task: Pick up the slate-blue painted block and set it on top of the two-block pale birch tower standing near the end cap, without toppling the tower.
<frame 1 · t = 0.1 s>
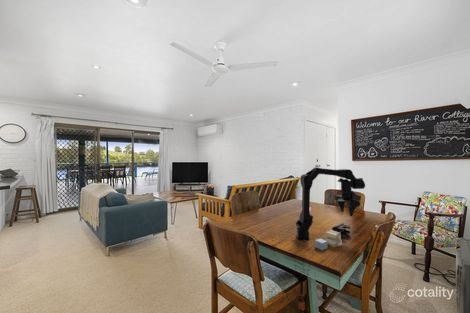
hand: (346, 214, 125), 15 cm above the table, fingers open, 9 cm apart
tower top: (333, 238, 116), point 3 cm above the table, touching tower base
blue block: (321, 247, 111), on the table
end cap: (341, 236, 128), on the table
tower base: (333, 244, 116), on the table, touching tower top
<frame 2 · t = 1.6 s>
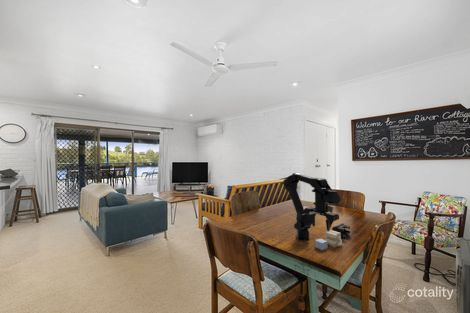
hand: (320, 228, 111), 11 cm above the table, fingers open, 9 cm apart
nothing on the table moved.
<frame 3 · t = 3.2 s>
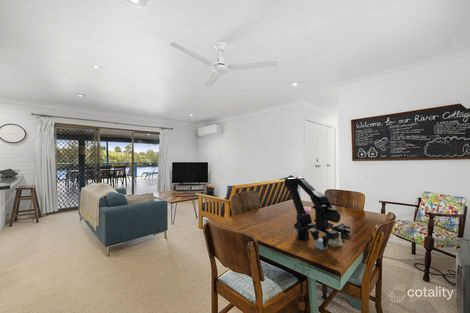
hand: (321, 245, 111), 1 cm above the table, fingers closed on blue block, 4 cm apart
blue block: (321, 247, 111), on the table, touching gripper
everything else where it was.
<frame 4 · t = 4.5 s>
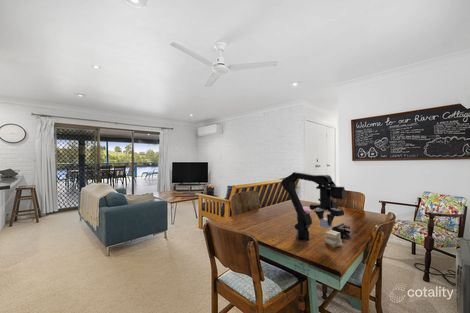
hand: (325, 224, 113), 12 cm above the table, fingers closed on blue block, 4 cm apart
blue block: (325, 226, 113), point 11 cm above the table, touching gripper
everything else where it was.
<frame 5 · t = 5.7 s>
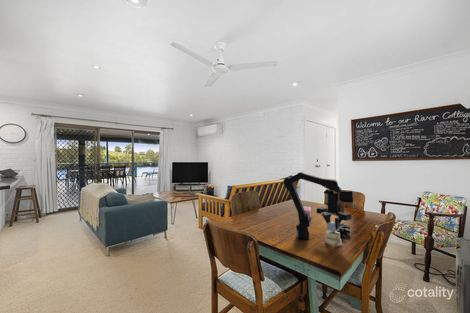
hand: (333, 228, 116), 9 cm above the table, fingers closed on blue block, 4 cm apart
tower top: (332, 238, 116), point 3 cm above the table
blue block: (333, 230, 116), point 8 cm above the table, touching gripper
tower base: (333, 244, 116), on the table
everything else where it was.
when the fingers open (9 cm above the table, at t = 5.8 s): blue block drops 1 cm, resting on tower top.
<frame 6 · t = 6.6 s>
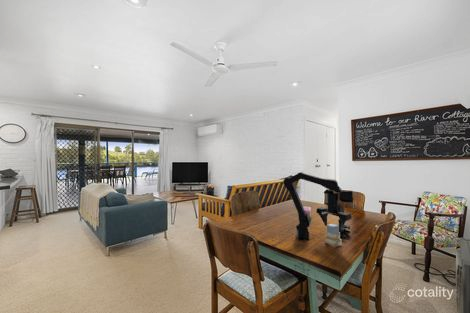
hand: (333, 228, 116), 9 cm above the table, fingers open, 9 cm apart
tower top: (332, 238, 116), point 3 cm above the table, touching blue block
blue block: (332, 232, 116), point 7 cm above the table, touching tower top
everything else where it was.
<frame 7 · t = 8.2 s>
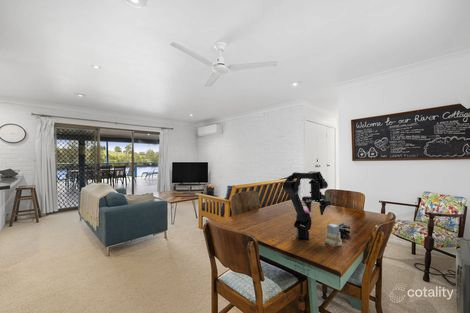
hand: (315, 213, 132), 13 cm above the table, fingers open, 9 cm apart
tower top: (333, 238, 116), point 3 cm above the table, touching blue block, tower base
tower base: (333, 244, 116), on the table, touching tower top
everything else where it was.
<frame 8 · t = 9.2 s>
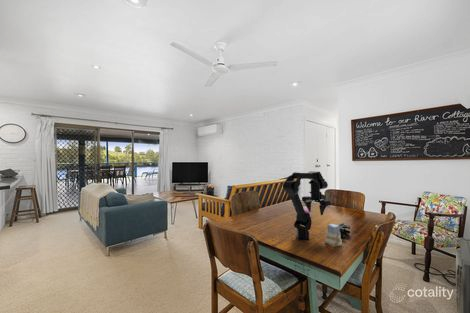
hand: (315, 213, 132), 13 cm above the table, fingers open, 9 cm apart
nothing on the table moved.
at the end: blue block 0.3 cm off-centre on the tower top, point 3.5 cm above the tower top's base; tower top tilted 0°; the gripper is holding nothing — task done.
